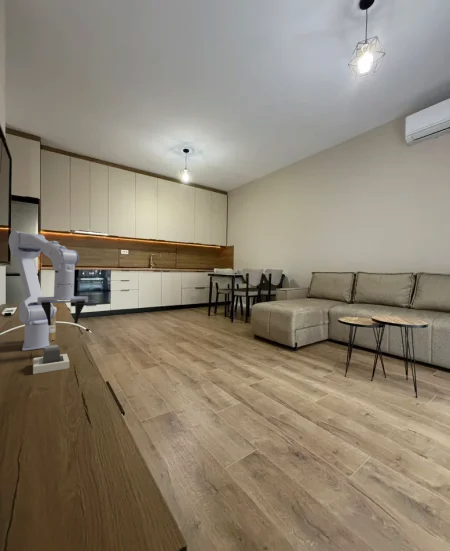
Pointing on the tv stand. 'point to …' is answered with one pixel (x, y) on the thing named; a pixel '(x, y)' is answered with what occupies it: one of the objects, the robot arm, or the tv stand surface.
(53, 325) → the sprinkles bottle
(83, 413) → the tv stand surface
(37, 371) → the socket block
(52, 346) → the stepped grey plug block
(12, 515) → the tv stand surface
